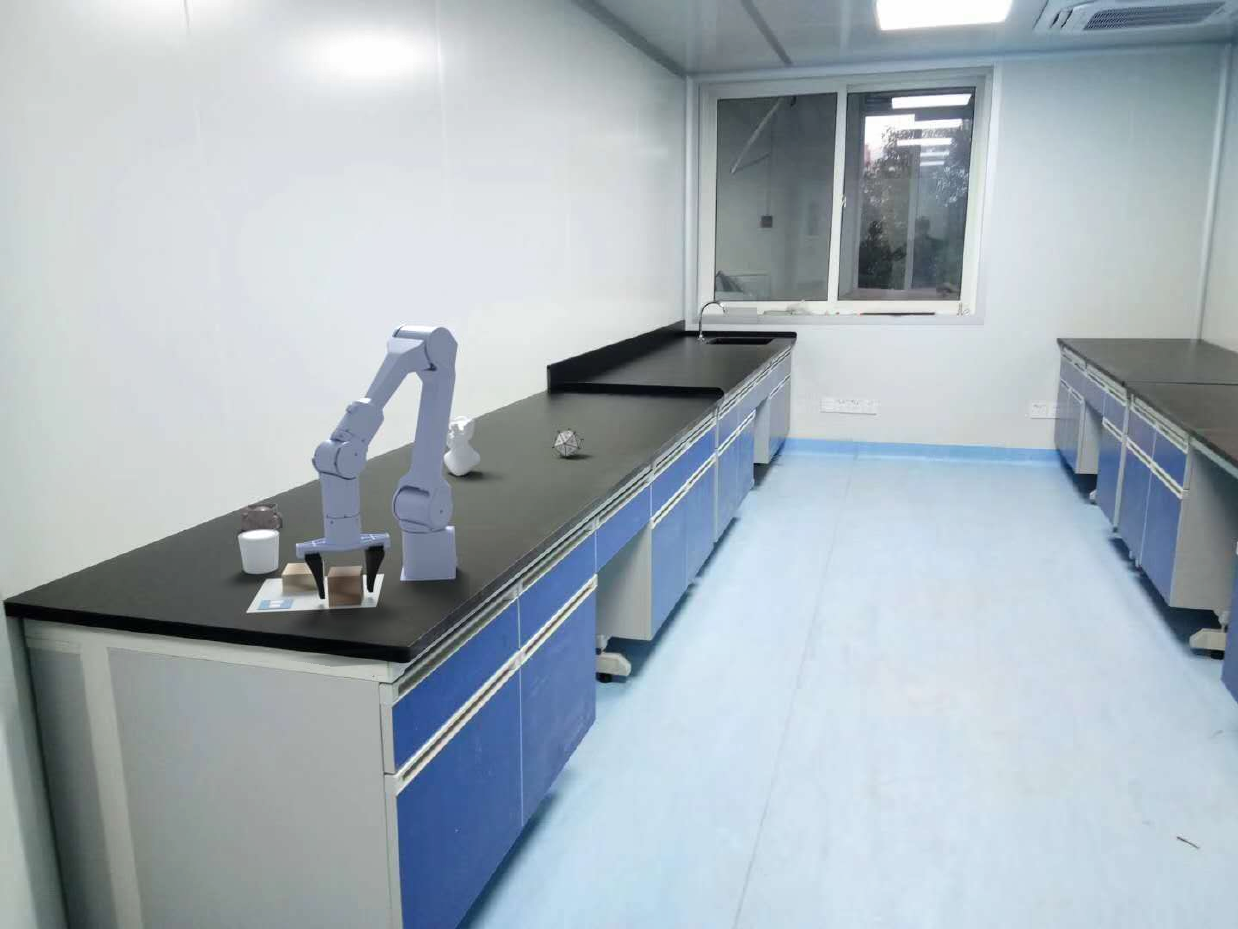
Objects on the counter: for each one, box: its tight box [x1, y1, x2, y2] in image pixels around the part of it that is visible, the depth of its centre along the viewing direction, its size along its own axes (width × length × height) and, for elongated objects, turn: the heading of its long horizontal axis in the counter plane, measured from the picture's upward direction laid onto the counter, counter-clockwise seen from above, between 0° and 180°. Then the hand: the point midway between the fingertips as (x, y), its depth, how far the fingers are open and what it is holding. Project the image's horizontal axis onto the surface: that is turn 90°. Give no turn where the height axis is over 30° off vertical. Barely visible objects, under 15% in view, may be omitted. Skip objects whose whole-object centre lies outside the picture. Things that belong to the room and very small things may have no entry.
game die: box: [550, 427, 584, 458], centre depth 268 cm, size 9×8×10 cm
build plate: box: [245, 573, 385, 614], centre depth 159 cm, size 20×16×1 cm
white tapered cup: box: [237, 529, 280, 575], centre depth 170 cm, size 7×7×7 cm
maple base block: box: [281, 561, 326, 592], centre depth 162 cm, size 6×6×3 cm
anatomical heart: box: [443, 415, 481, 477], centre depth 244 cm, size 10×11×15 cm
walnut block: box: [326, 565, 364, 607], centre depth 155 cm, size 5×5×5 cm
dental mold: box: [241, 502, 284, 532], centre depth 196 cm, size 8×7×5 cm
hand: (346, 594), depth 156 cm, fingers open, 7 cm apart
